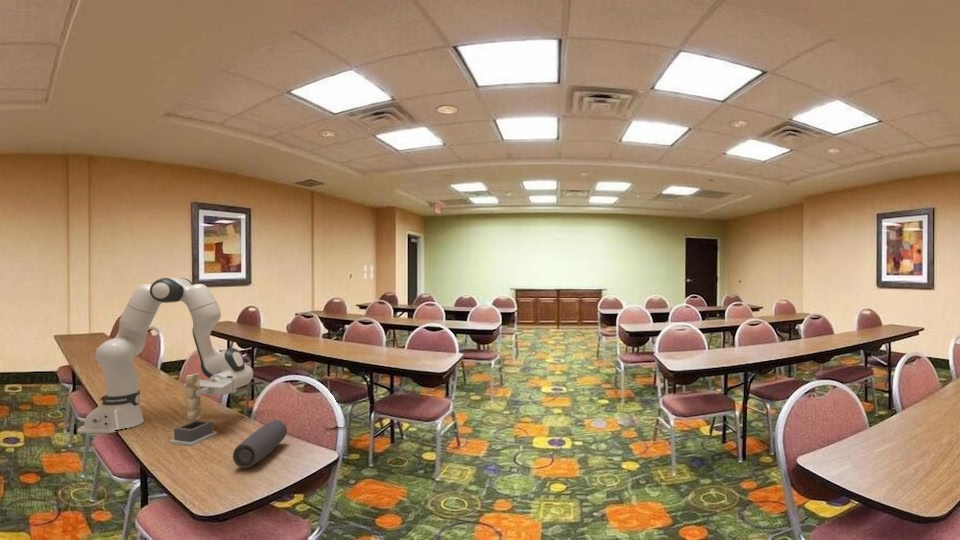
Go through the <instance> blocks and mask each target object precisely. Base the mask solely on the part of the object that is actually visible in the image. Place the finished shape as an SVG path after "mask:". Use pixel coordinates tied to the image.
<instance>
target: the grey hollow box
mask: <svg viewBox="0 0 960 540" xmlns="http://www.w3.org/2000/svg"><path fill="white" fill-rule="evenodd" d="M213 427H214V425H213V421H212V420H211V421H210V420H202V419H196V420H194V421H189V422H187V423H185V424H182V425H180V426H177V427H175V428H174V429H173V436H174V438H173V439H171V440H169V443H170V444H173V445H180V446H181V445H182V446H187V447H188V446H189V447H192V446H194V445H197V444H199V443H200V442H203V441H206V440H207V439H209V438H212V437H214V436H216V435H217V434H218V431H214V428H213Z"/></svg>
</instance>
